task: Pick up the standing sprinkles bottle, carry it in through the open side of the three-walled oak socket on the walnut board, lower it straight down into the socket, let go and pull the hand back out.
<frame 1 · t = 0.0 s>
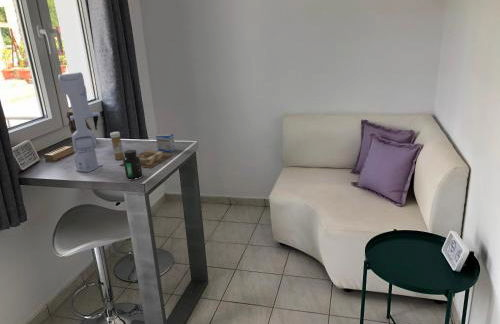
hand: (88, 130, 213), 11 cm above the table, tool pointing down, fingers open, 7 cm apart
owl: (85, 144, 228), on the table
medicine box: (166, 151, 204), on the table
supplement bottle: (134, 177, 172), on the table
sprinkles bottle: (119, 158, 198), on the table
socket block: (146, 160, 192), on the table
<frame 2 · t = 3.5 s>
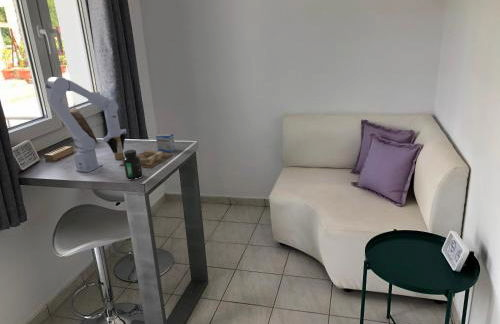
hand: (118, 151, 196), 4 cm above the table, tool pointing down, fingers closed on sprinkles bottle, 4 cm apart
sprinkles bottle: (119, 158, 198), on the table, touching gripper
everything else where it was.
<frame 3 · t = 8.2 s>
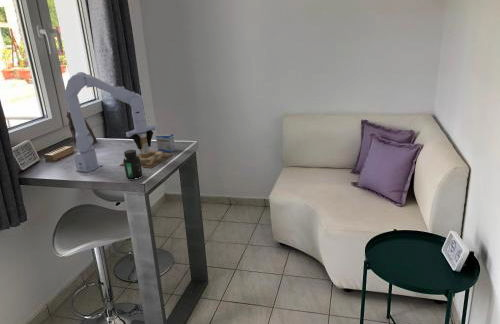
hand: (144, 147, 190), 7 cm above the table, tool pointing down, fingers closed on sprinkles bottle, 4 cm apart
sprinkles bottle: (146, 159, 192), resting on socket block, touching gripper
everything else where it was.
when the fingers open (5 cm above the table, at t = 9.0 s): sprinkles bottle stays where it is, resting on socket block.
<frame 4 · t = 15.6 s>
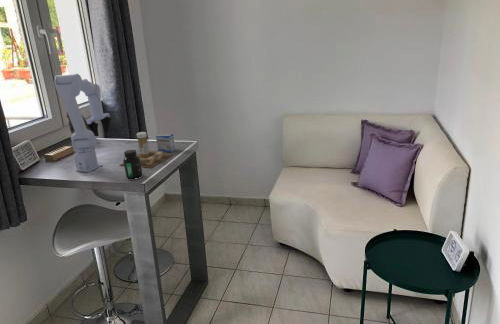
hand: (101, 133, 205), 10 cm above the table, tool pointing down, fingers open, 7 cm apart
sprinkles bottle: (146, 159, 192), resting on socket block
everything else where it was.
at the end: sprinkles bottle 0.3 cm off-centre on the socket block, point 0.2 cm above the socket block's base; sprinkles bottle tilted 0°; the gripper is holding nothing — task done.
